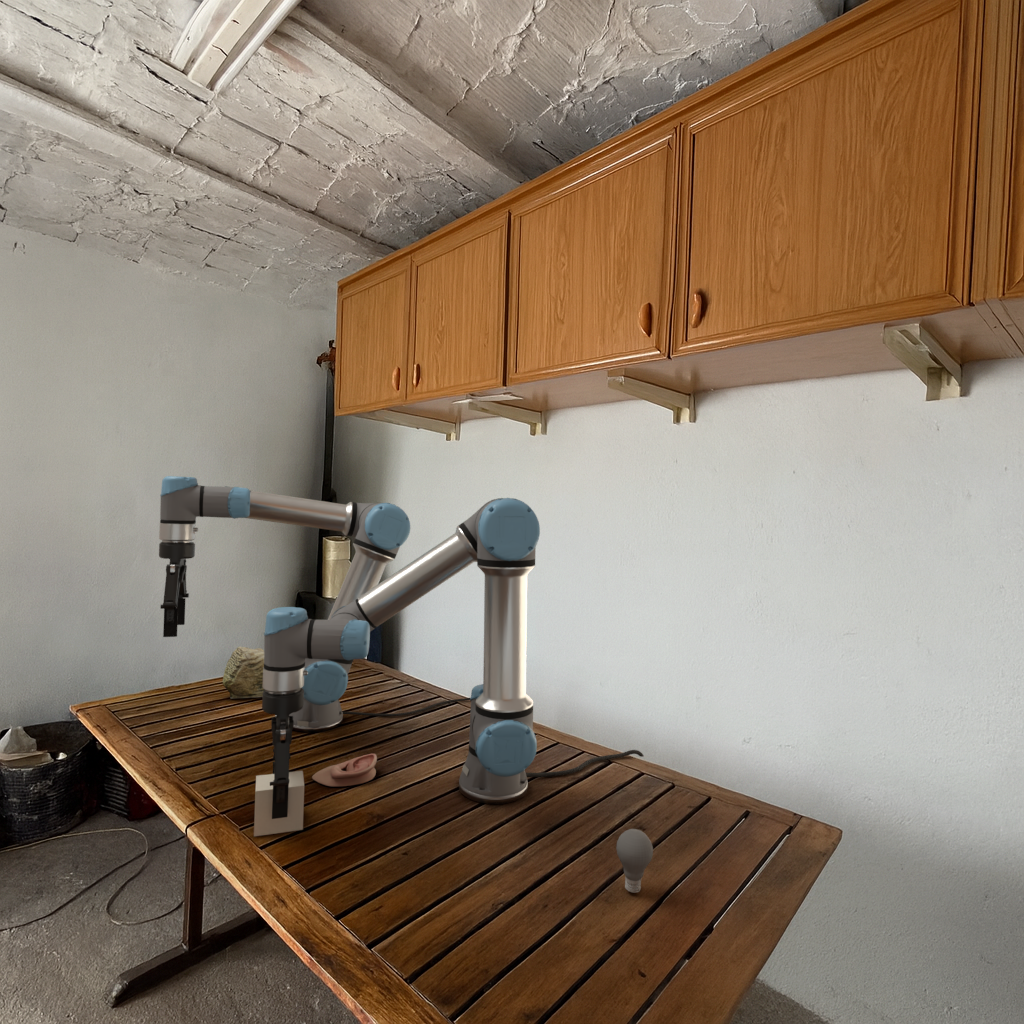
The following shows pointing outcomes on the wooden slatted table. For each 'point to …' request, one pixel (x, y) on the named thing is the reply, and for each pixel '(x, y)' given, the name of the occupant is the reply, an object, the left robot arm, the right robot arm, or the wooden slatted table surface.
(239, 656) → the fossil
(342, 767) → the anatomical model
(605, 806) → the wooden slatted table surface
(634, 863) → the light bulb
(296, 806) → the beige block
